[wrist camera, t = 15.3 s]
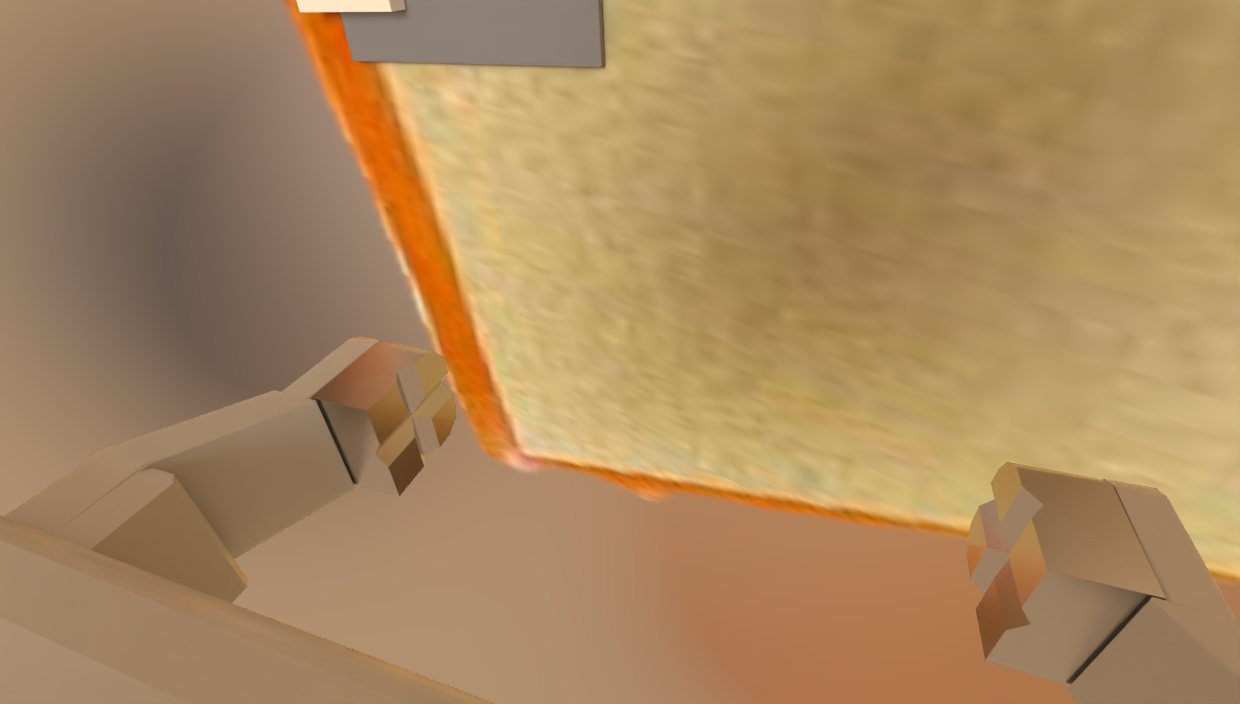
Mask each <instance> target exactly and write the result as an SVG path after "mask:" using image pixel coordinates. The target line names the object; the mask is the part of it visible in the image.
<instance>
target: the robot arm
mask: <svg viewBox="0 0 1240 704" xmlns="http://www.w3.org/2000/svg"><path fill="white" fill-rule="evenodd" d="M447 373H448V372H447V369H446V366H445V362H444V359H443V356H441V355H439V354H437V353H435V352H433V351H428V350H424V349H419V348H415V347H410V346H406V345H401V344H396V343H392V342H387V341H379V340H375V339H371V338H367V337H362V336H361V337H355V338H350V339H349V340H348V341H347V342H345V343H344V344H343V345H341V346H340V347H339V348H337V349H336V350H335V351H334V352H332V353H331V354H330V355H328V356H327V357H326V358H325V359H323V360H322V361H321V362H319V363H318V364H317V365H316V366H314V367H313V368H312V369H311V370H309V371H308V372H307V373H306V374H304V375H303V376H302V377H300V378H299V379H298V380H296V381H295V382H294V383H293V384H291V385H290V386H289V387H288V388H286V389H285V390H284V391H282V392H278V391H271V392H268V393H265V394H262V395H259V396H257V397H254V398H251V399H248V400H245V401H242V402H239V403H236V404H233V405H231V406H228V407H225V408H222V409H219V410H216V411H213V412H210V413H207V414H204V415H201V416H199V417H196V418H193V419H190V420H187V421H184V422H181V423H178V424H175V425H173V426H170V427H167V428H164V429H161V430H158V431H155V432H152V433H149V434H146V435H144V436H141V437H138V438H135V439H132V440H129V441H126V442H123V443H120V444H117V445H115V446H112V447H109V448H106V449H103V450H101V451H100V452H99V453H97V454H95V455H94V456H93V457H91V458H90V459H88V460H87V461H85V462H84V463H82V464H81V465H79V466H78V467H76V468H75V469H73V470H72V471H70V472H69V473H68V474H66V475H65V476H63V477H62V478H60V479H59V480H57V481H56V482H54V483H53V484H51V485H50V486H48V487H47V488H45V489H44V490H42V491H41V492H40V493H38V494H36V495H35V496H33V497H32V498H31V499H29V500H28V501H26V502H25V503H23V504H22V505H20V506H19V507H17V508H16V509H15V510H13V511H11V512H10V513H8V514H7V515H5V516H4V517H3V516H0V704H496V703H493V702H490V701H488V700H485V699H483V698H480V697H477V696H475V695H472V694H470V693H467V692H464V691H462V690H459V689H456V688H454V687H451V686H449V685H446V684H443V683H441V682H438V681H435V680H433V679H430V678H427V677H425V676H422V675H420V674H417V673H414V672H412V671H409V670H406V669H404V668H401V667H398V666H396V665H393V664H390V663H388V662H385V661H383V660H380V659H377V658H375V657H372V656H369V655H367V654H364V653H362V652H359V651H356V650H354V649H351V648H348V647H346V646H343V645H340V644H338V643H335V642H332V641H330V640H327V639H324V638H322V637H319V636H317V635H314V634H311V633H309V632H306V631H303V630H301V629H298V628H296V627H293V626H290V625H288V624H285V623H282V622H280V621H277V620H275V619H272V618H269V617H267V616H264V615H261V614H259V613H256V612H253V611H251V610H248V609H246V608H243V607H240V606H238V605H235V604H232V603H233V601H234V600H235V599H236V598H237V597H238V596H239V595H240V594H241V593H242V592H243V591H244V590H245V588H246V587H247V579H248V578H247V576H246V575H245V574H244V572H243V571H242V569H241V568H240V567H239V565H238V564H237V562H236V561H235V560H234V559H235V558H237V557H238V556H240V555H242V554H244V553H245V552H247V551H249V550H251V549H252V548H254V547H256V546H257V545H259V544H261V543H262V542H264V541H266V540H268V539H269V538H271V537H273V536H274V535H276V534H278V533H279V532H281V531H283V530H285V529H286V528H288V527H290V526H291V525H293V524H295V523H296V522H298V521H300V520H301V519H303V518H305V517H306V516H308V515H310V514H312V513H313V512H315V511H317V510H318V509H320V508H322V507H324V506H325V505H327V504H328V503H330V502H332V501H334V500H335V499H337V498H339V497H341V496H342V495H344V494H346V493H347V492H349V491H351V490H352V489H354V488H355V486H354V485H356V486H360V487H364V488H368V489H372V490H376V491H380V492H384V493H388V494H392V495H397V496H400V495H401V494H402V493H403V491H404V490H405V489H406V488H407V486H408V485H409V484H410V483H411V482H412V481H413V479H414V478H415V477H416V476H417V474H418V473H419V472H420V471H421V470H422V468H423V467H424V455H425V454H427V453H429V452H431V451H433V450H435V449H437V448H439V447H440V446H441V445H442V444H443V443H444V441H445V440H446V439H447V437H448V436H449V435H450V432H451V430H452V427H453V424H454V422H455V419H456V403H455V399H454V395H453V393H452V392H451V391H450V390H449V388H448V387H447V386H446V385H445V384H444V383H443V380H444V378H445V377H446V375H447ZM991 484H992V489H993V493H994V497H995V499H994V500H992V501H990V502H987V503H985V504H983V505H981V506H979V507H978V510H977V512H976V514H975V516H974V518H973V520H972V523H971V526H970V532H969V537H968V542H967V559H968V567H969V573H970V578H971V579H972V580H973V581H974V582H975V584H976V585H977V586H978V587H979V588H980V589H981V590H982V592H984V594H985V595H984V596H983V598H982V600H981V601H980V603H979V605H978V606H977V608H976V613H977V618H978V624H979V630H980V635H981V640H982V645H983V652H984V657H985V661H988V662H992V663H995V664H998V665H1001V666H1005V667H1008V668H1011V669H1015V670H1018V671H1021V672H1024V673H1028V674H1031V675H1034V676H1038V677H1041V678H1044V679H1048V680H1051V681H1054V682H1057V683H1061V684H1064V685H1067V686H1069V687H1068V689H1067V690H1068V691H1069V693H1070V694H1071V695H1072V697H1073V698H1074V699H1075V701H1076V702H1077V703H1078V704H1240V618H1237V617H1234V615H1233V613H1232V611H1231V610H1230V608H1229V606H1228V604H1227V603H1226V601H1225V599H1224V597H1223V595H1222V594H1221V592H1220V590H1219V588H1218V586H1217V585H1216V583H1215V581H1214V579H1213V578H1212V576H1211V574H1210V572H1209V570H1208V569H1207V567H1206V565H1205V563H1204V562H1203V560H1202V558H1201V556H1200V554H1199V553H1198V551H1197V549H1196V547H1195V546H1194V544H1193V542H1192V540H1191V538H1190V537H1189V535H1188V533H1187V531H1186V530H1185V528H1184V526H1183V524H1182V522H1181V521H1180V519H1179V517H1178V515H1177V514H1176V512H1175V510H1174V508H1173V506H1172V505H1171V503H1170V501H1169V499H1168V498H1167V496H1166V495H1164V494H1163V493H1162V492H1160V491H1159V490H1158V489H1156V488H1151V487H1145V486H1140V485H1134V484H1128V483H1123V482H1117V481H1111V480H1106V479H1104V480H1099V479H1096V478H1091V477H1085V476H1080V475H1074V474H1069V473H1064V472H1058V471H1053V470H1048V469H1042V468H1037V467H1031V466H1026V465H1021V464H1015V463H1010V462H1006V463H1005V464H1004V465H1003V466H1002V467H1000V468H999V469H998V471H997V473H996V475H995V477H994V479H993V480H992V482H991Z"/></svg>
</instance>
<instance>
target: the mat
mask: <svg viewBox="0 0 1240 704" xmlns="http://www.w3.org/2000/svg"><path fill="white" fill-rule="evenodd" d="M404 3H405V8H406V9H405V10H399V11H393V12H340V15H341V19H342V22H343V26H344V30H345V33H346V37H347V41H348V44H349V48H350V51H351V55H352V59H353V61H374V62H414V63H454V64H493V65H533V66H573V67H603V66H605V56H604V32H603V9H602V0H404Z"/></svg>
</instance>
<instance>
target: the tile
mask: <svg viewBox="0 0 1240 704" xmlns="http://www.w3.org/2000/svg"><path fill="white" fill-rule="evenodd" d="M296 1H297V4H298V7H299V10H300V12H393V11H399V10H405V9H406V8H405V3H404V0H296Z"/></svg>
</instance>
